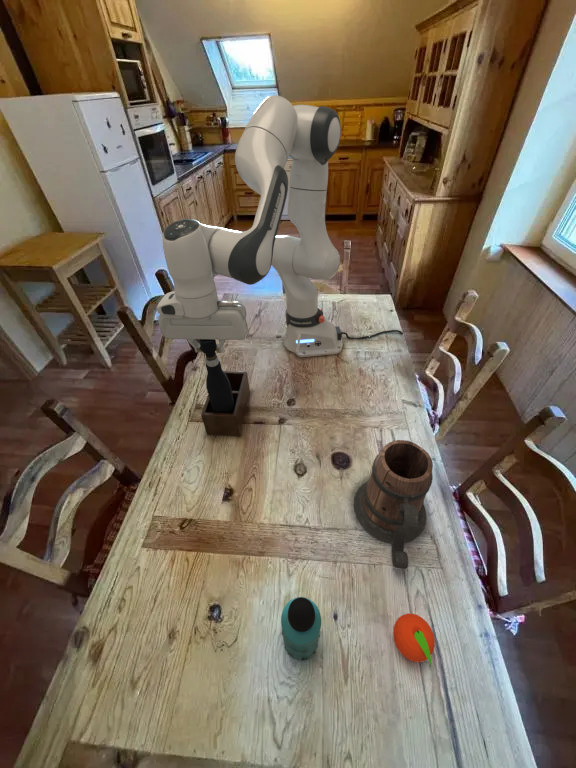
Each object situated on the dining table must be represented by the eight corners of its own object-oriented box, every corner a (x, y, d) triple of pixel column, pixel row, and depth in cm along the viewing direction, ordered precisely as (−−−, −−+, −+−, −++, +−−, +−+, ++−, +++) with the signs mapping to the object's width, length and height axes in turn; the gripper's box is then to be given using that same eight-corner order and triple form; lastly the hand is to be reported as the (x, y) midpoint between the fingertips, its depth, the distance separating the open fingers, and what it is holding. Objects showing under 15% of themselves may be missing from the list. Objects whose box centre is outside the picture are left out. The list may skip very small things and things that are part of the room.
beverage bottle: (282, 622, 65) (276, 588, 52) (316, 619, 65) (319, 584, 52) (284, 666, 60) (279, 641, 47) (321, 662, 61) (327, 636, 47)
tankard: (352, 474, 88) (361, 424, 75) (419, 480, 87) (441, 429, 73) (355, 572, 71) (367, 529, 58) (439, 581, 70) (471, 539, 56)
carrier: (250, 391, 113) (247, 371, 107) (239, 436, 99) (235, 416, 93) (221, 390, 113) (216, 370, 108) (207, 435, 100) (200, 414, 94)
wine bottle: (239, 412, 104) (223, 331, 84) (235, 429, 100) (216, 346, 79) (218, 412, 105) (197, 330, 85) (213, 428, 100) (189, 346, 80)
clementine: (441, 662, 60) (453, 654, 55) (407, 680, 59) (416, 673, 54) (414, 613, 66) (423, 601, 61) (382, 627, 64) (389, 617, 59)
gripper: (247, 294, 77) (253, 344, 86) (159, 293, 78) (174, 343, 88) (242, 308, 72) (249, 360, 81) (149, 307, 74) (166, 358, 83)
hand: (209, 351), depth 85 cm, fingers closed on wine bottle, 4 cm apart
